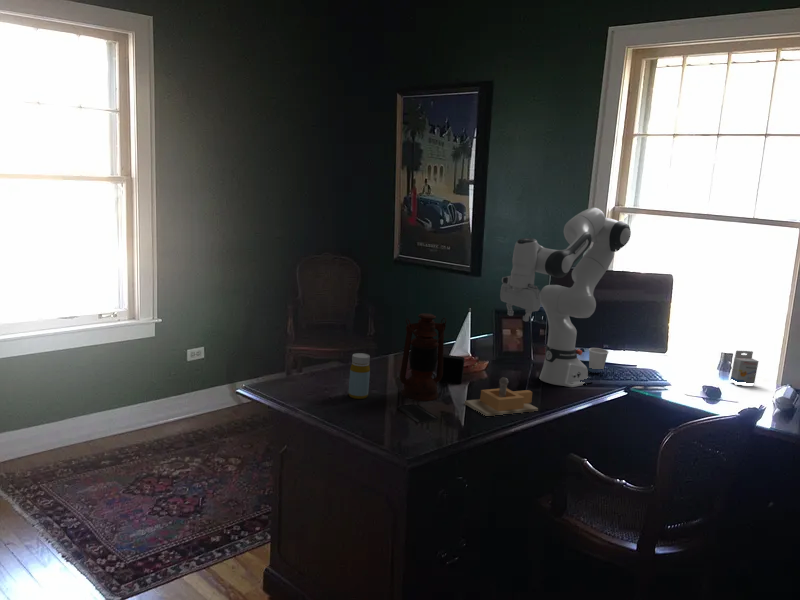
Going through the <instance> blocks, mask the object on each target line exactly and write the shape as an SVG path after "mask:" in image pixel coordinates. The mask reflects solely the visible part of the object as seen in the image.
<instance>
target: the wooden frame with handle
mask: <svg viewBox="0 0 800 600" xmlns="http://www.w3.org/2000/svg"><path fill="white" fill-rule="evenodd" d="M499 390H500V387H498V388H490V389H489V388H488V389H480V396H479V397H480V398H479V399H480V401H481V402H483V403H485V404H487V405H488V406H490V407H492V408H493V409H495V410H497V411H503V410H512V409H521V408H523V407H524V403H529V404H532V402H533V401H532V400H533V391H531V390H530V389H526V390H516V391H513V390H511V389H509V388H507V389H506V397H502V398H500V397H499Z"/></svg>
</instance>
